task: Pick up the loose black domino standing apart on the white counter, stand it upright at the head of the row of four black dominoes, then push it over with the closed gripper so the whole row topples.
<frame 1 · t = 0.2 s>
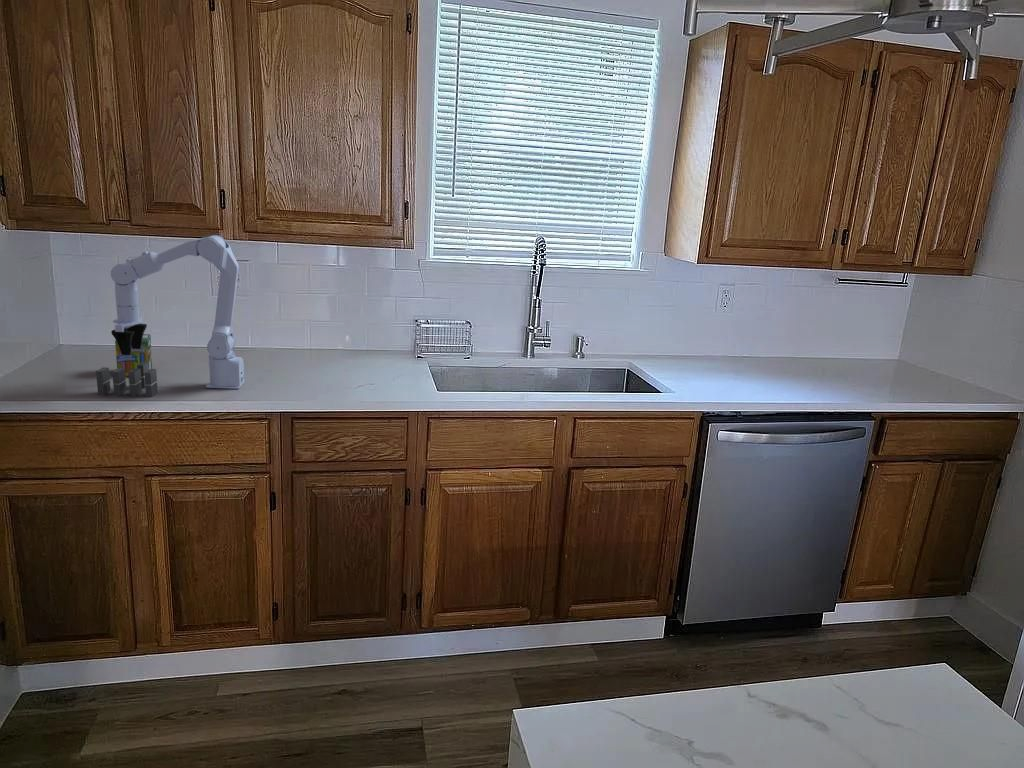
hand: (131, 351, 210), 10 cm above the counter, tool pointing down, fingers open, 7 cm apart
domino 3: (120, 394, 203), on the counter
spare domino: (144, 386, 211), on the counter
domino 4: (104, 393, 203), on the counter
domino 1: (151, 394, 204), on the counter
domino 2: (136, 394, 204), on the counter
chalk box: (135, 373, 225), on the counter
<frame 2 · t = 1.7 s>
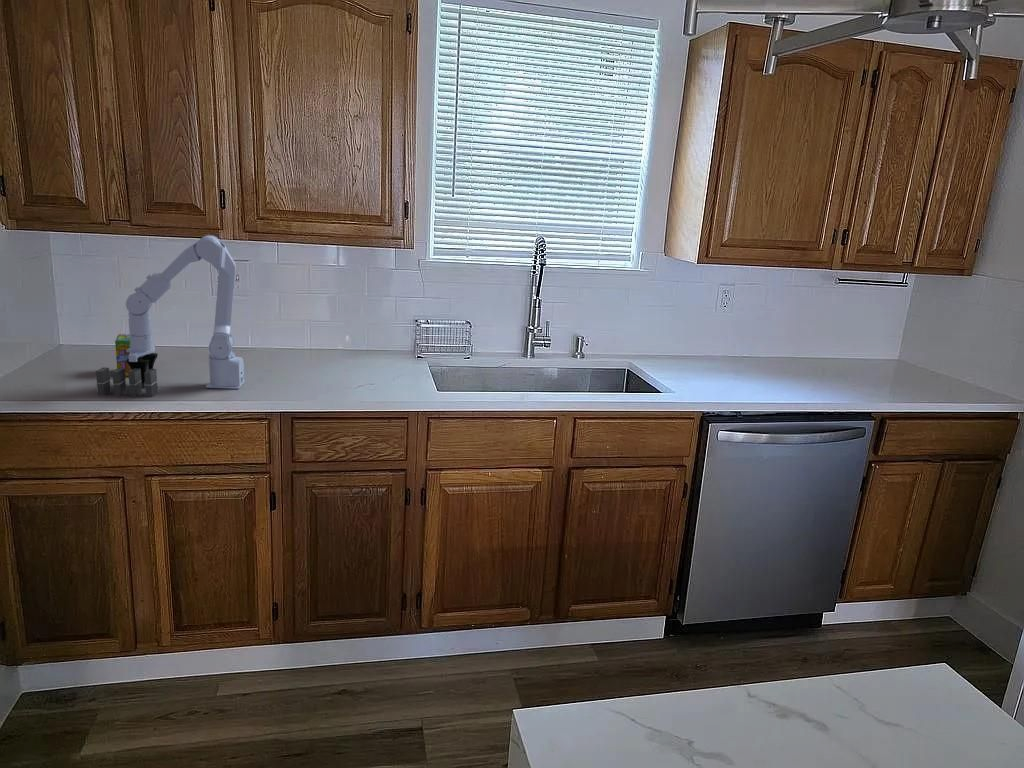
hand: (144, 380, 211), 2 cm above the counter, tool pointing down, fingers closed on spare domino, 4 cm apart
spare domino: (144, 386, 211), on the counter, touching gripper
everything else where it was.
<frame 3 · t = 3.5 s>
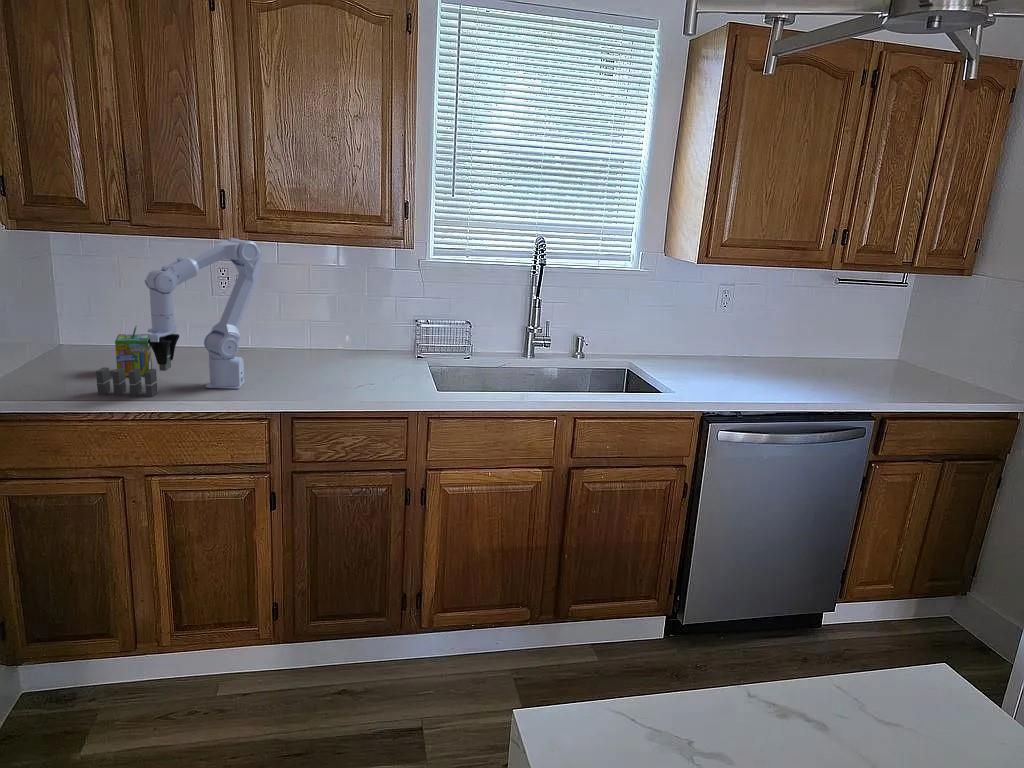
hand: (165, 362, 203), 9 cm above the counter, tool pointing down, fingers closed on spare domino, 4 cm apart
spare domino: (165, 368, 203), point 8 cm above the counter, touching gripper
everything else where it was.
when the fingers open (2 cm above the counter, at t = 5.4 s): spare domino stays where it is, on the counter.
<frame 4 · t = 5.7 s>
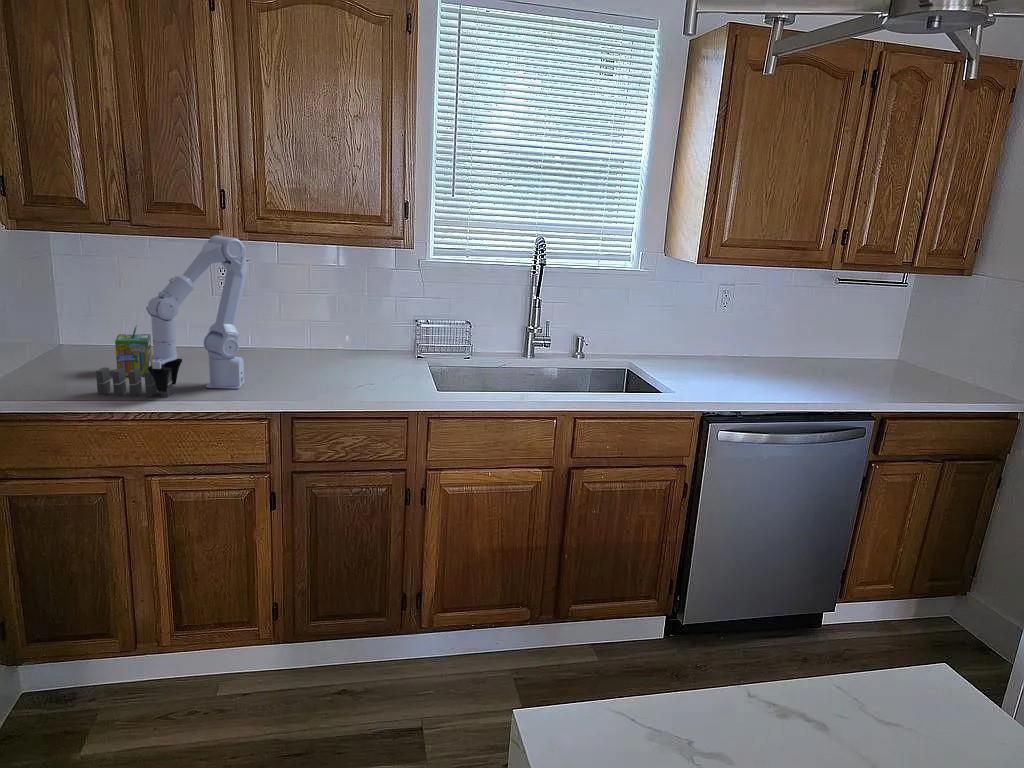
hand: (167, 387, 204), 2 cm above the counter, tool pointing down, fingers open, 7 cm apart
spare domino: (167, 395, 205), on the counter
everything else where it was.
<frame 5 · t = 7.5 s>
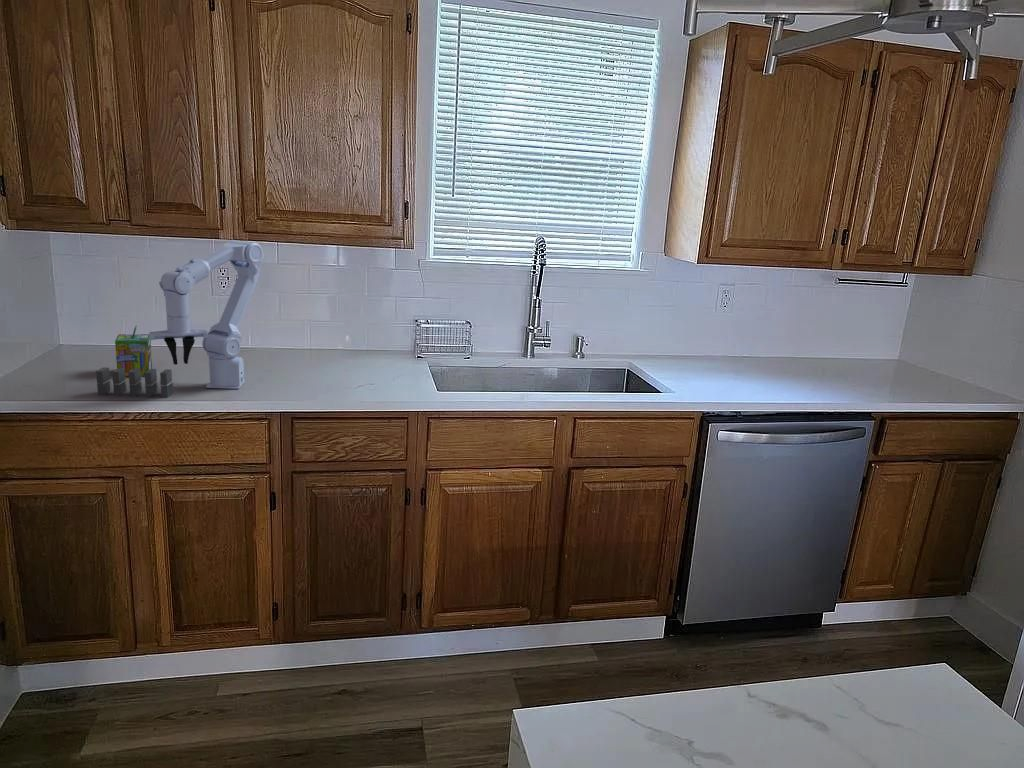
hand: (180, 363, 203), 9 cm above the counter, tool pointing down, fingers closed
nothing on the counter moved.
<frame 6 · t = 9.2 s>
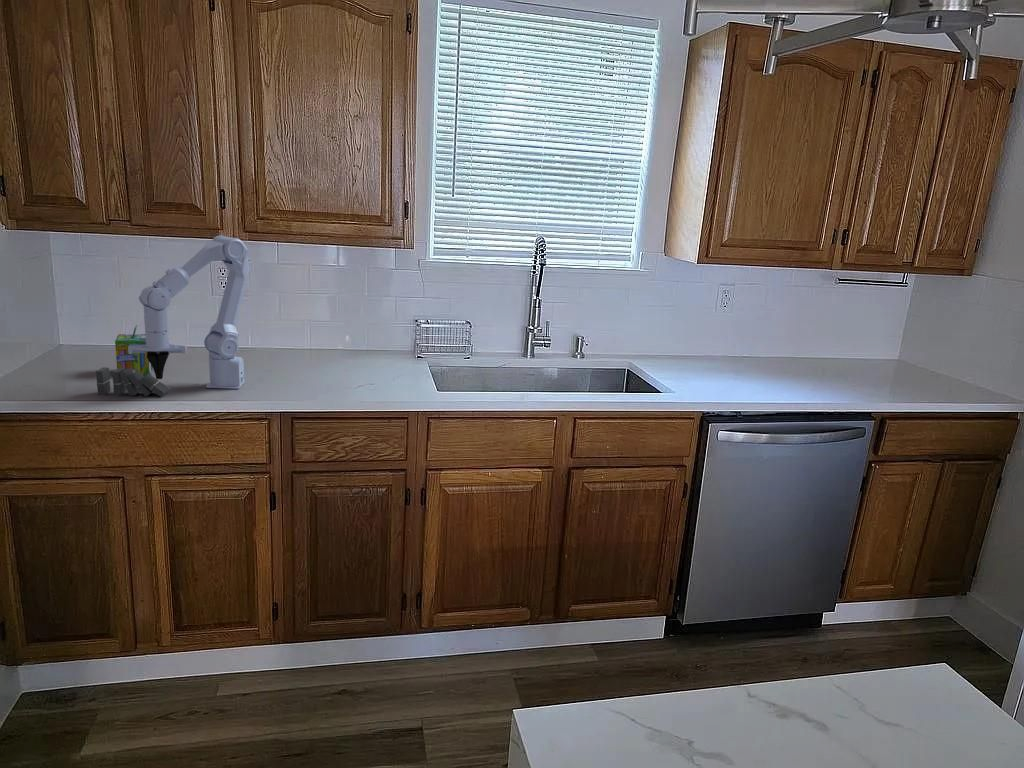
hand: (159, 378, 203), 5 cm above the counter, tool pointing down, fingers closed
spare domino: (165, 393, 204), point 1 cm above the counter, tilted 51°
domino 1: (151, 393, 204), on the counter, tilted 39°
domino 2: (136, 393, 204), on the counter, tilted 20°
everything else where it was.
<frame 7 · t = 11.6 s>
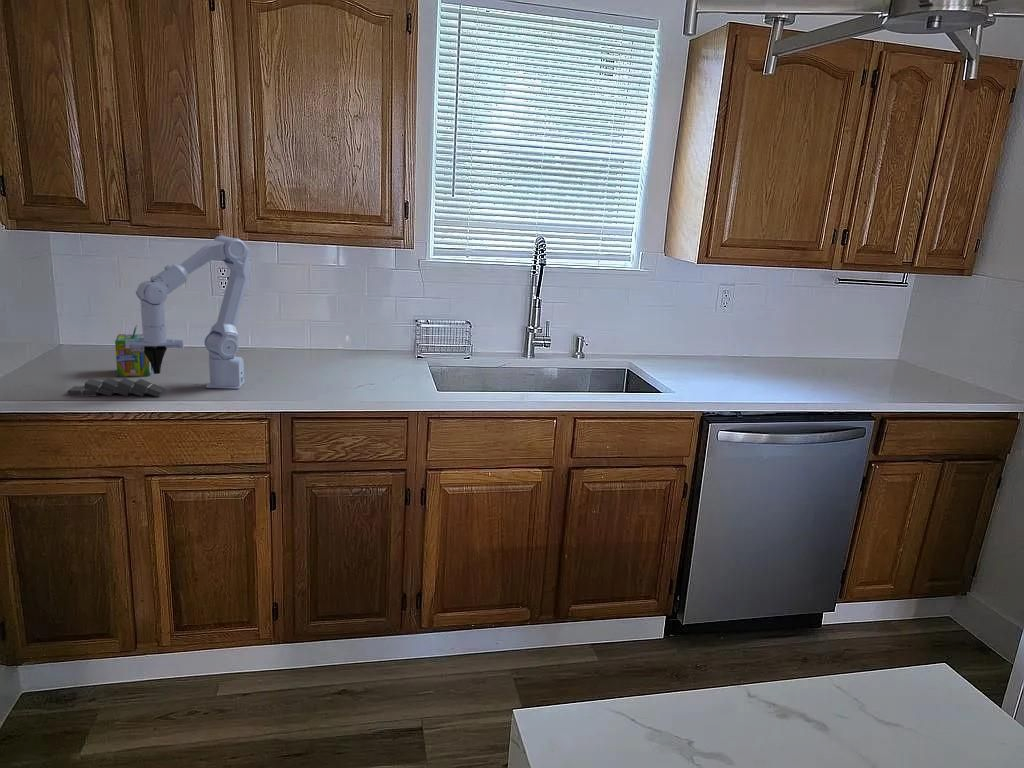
hand: (157, 372, 203), 6 cm above the counter, tool pointing down, fingers closed
domino 3: (113, 391, 202), point 1 cm above the counter, tilted 70°, touching domino 2, domino 4
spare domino: (161, 392, 204), point 1 cm above the counter, tilted 68°, touching domino 1
domino 4: (98, 391, 202), point 1 cm above the counter, tilted 90°, touching domino 3
domino 1: (145, 392, 204), point 1 cm above the counter, tilted 67°, touching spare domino
domino 2: (130, 391, 203), point 1 cm above the counter, tilted 67°, touching domino 3
everything else where it was.
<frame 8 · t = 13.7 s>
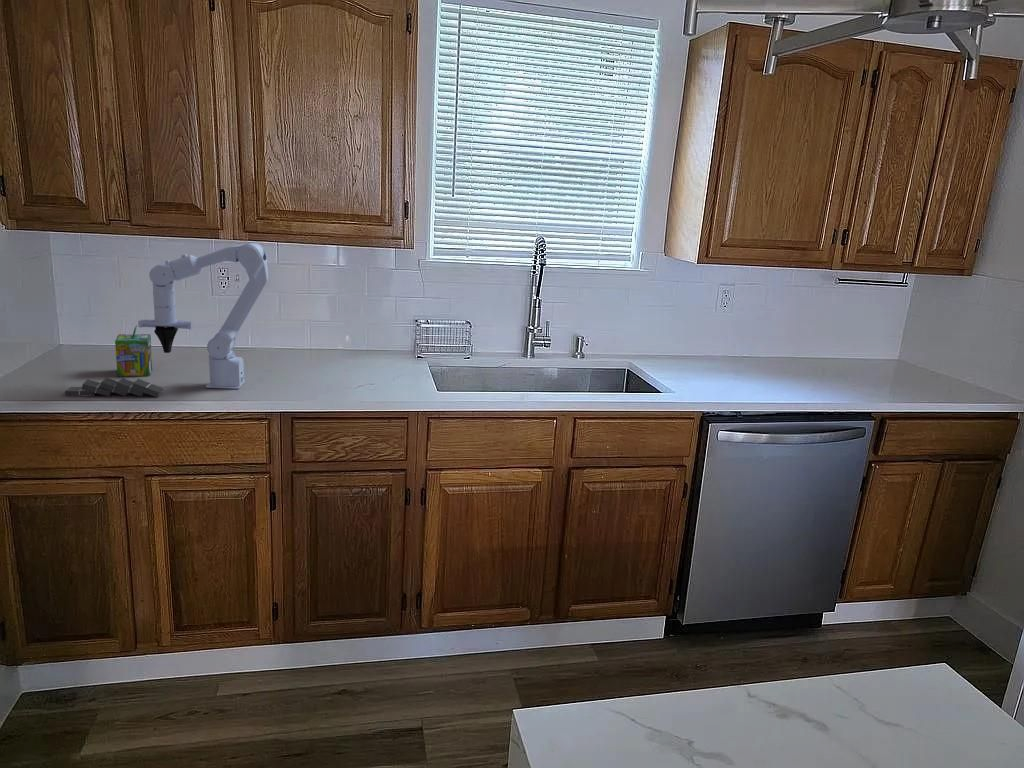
hand: (167, 352, 212), 10 cm above the counter, tool pointing down, fingers closed
domino 1: (144, 392, 204), point 1 cm above the counter, tilted 67°, touching domino 2, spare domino
domino 2: (128, 391, 203), point 1 cm above the counter, tilted 67°, touching domino 1, domino 3
at the end: domino 4 tilted 90°; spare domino tilted 67° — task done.
